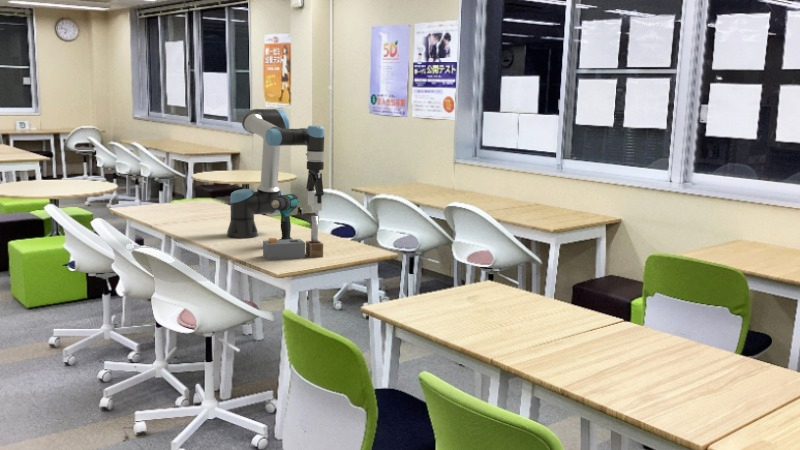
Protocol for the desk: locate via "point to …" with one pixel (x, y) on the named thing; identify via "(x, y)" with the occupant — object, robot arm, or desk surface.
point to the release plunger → (272, 240)
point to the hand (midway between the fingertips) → (314, 207)
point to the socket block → (284, 249)
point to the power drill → (285, 212)
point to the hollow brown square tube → (314, 249)
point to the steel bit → (314, 229)
